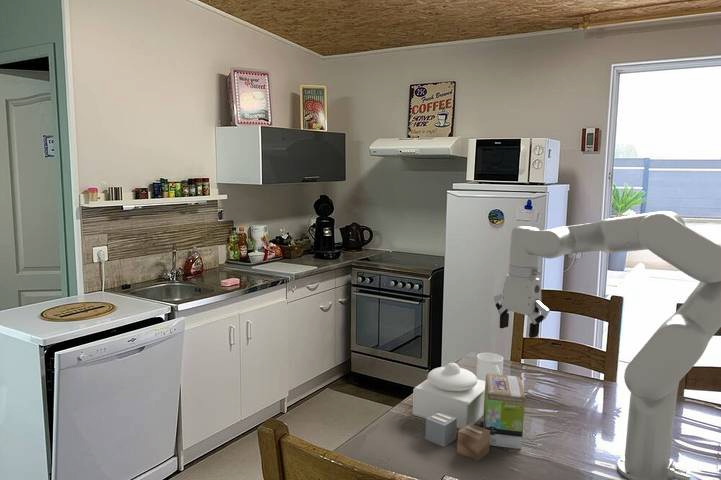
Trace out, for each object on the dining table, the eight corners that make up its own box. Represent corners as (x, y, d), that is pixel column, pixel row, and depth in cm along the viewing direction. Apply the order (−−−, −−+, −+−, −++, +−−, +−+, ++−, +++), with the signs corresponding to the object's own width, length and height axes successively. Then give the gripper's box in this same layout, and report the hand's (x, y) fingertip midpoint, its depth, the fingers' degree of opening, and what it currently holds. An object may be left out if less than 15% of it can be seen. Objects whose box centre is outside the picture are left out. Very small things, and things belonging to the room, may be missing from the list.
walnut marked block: (489, 452, 137) (490, 429, 137) (477, 461, 133) (478, 438, 132) (468, 444, 141) (469, 422, 141) (457, 452, 137) (458, 430, 136)
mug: (486, 397, 171) (488, 365, 169) (471, 383, 182) (473, 353, 181) (511, 395, 172) (512, 364, 171) (494, 381, 184) (496, 352, 183)
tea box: (523, 450, 139) (526, 396, 137) (483, 445, 141) (486, 392, 139) (517, 423, 153) (520, 375, 151) (482, 420, 155) (484, 371, 153)
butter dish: (438, 395, 172) (439, 348, 170) (491, 410, 162) (493, 360, 160) (412, 415, 158) (413, 364, 156) (468, 432, 148) (471, 378, 146)
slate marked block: (456, 438, 144) (456, 417, 143) (444, 447, 140) (444, 424, 139) (437, 431, 148) (438, 410, 147) (425, 439, 144) (426, 417, 143)
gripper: (559, 276, 139) (553, 338, 142) (505, 265, 153) (501, 322, 155) (542, 279, 135) (537, 343, 137) (488, 267, 148) (484, 326, 151)
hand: (518, 332), depth 146 cm, fingers open, 9 cm apart
